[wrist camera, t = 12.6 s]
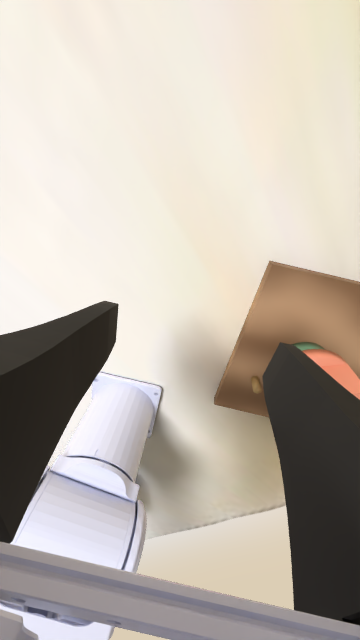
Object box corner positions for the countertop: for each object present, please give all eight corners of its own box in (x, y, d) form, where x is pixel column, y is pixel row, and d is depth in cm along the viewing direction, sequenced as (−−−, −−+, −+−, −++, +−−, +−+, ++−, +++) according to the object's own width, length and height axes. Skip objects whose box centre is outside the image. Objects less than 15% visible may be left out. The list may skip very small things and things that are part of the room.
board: (317, 421, 26) (326, 442, 24) (214, 397, 26) (214, 416, 24) (417, 295, 18) (445, 309, 16) (269, 260, 18) (277, 270, 16)
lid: (351, 344, 18) (389, 385, 14) (345, 399, 20) (375, 446, 17) (269, 354, 19) (284, 394, 15) (273, 404, 22) (287, 449, 18)
